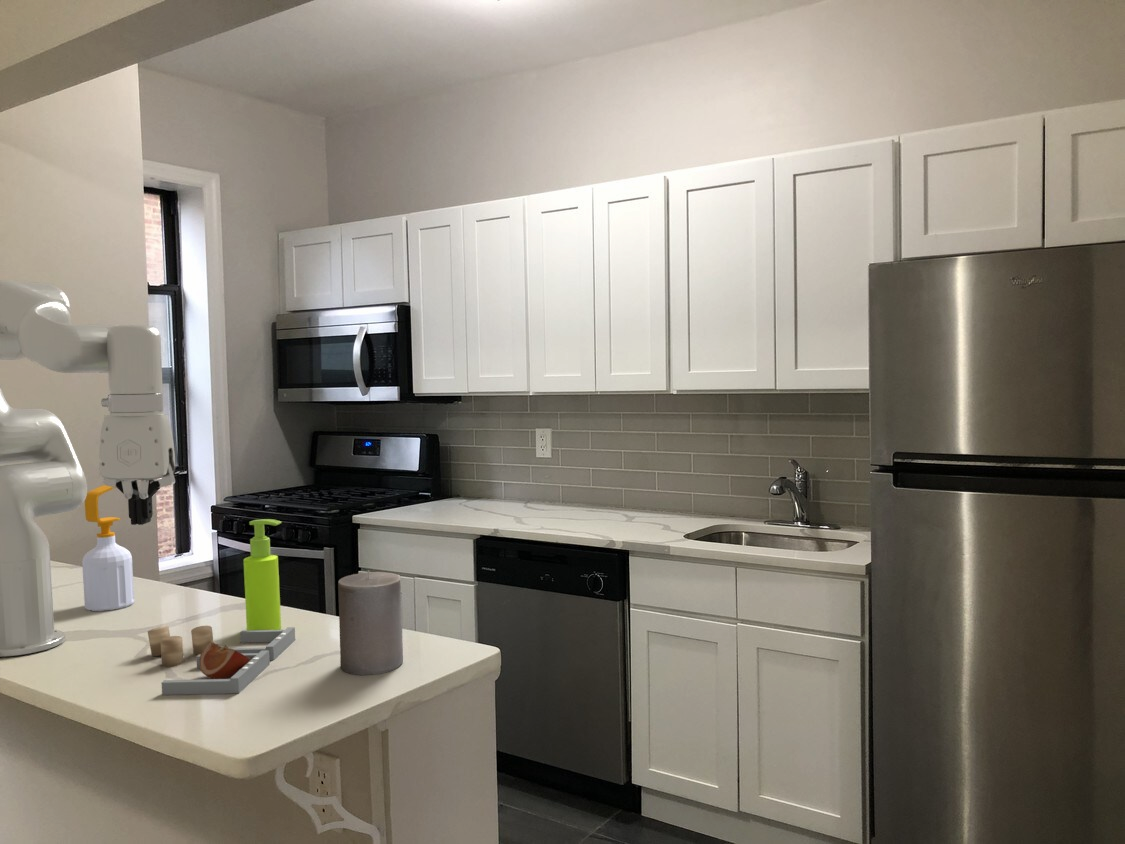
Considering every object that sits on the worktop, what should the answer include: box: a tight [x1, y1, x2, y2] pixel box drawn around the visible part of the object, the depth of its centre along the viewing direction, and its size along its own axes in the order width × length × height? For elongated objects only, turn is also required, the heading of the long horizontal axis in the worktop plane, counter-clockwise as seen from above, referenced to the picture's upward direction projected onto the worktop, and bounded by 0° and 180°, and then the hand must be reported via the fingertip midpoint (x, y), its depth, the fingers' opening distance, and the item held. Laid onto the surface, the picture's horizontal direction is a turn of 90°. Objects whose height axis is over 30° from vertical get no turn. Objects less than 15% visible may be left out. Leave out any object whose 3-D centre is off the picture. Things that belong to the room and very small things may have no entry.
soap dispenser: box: [243, 518, 283, 631], centre depth 163 cm, size 6×7×20 cm
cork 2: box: [160, 635, 184, 668], centre depth 146 cm, size 3×3×4 cm
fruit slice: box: [199, 641, 250, 679], centre depth 138 cm, size 8×7×5 cm
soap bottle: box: [81, 484, 135, 612], centre depth 183 cm, size 9×9×25 cm
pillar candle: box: [337, 569, 404, 676], centre depth 142 cm, size 10×10×15 cm
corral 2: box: [230, 626, 296, 661], centre depth 151 cm, size 9×11×2 cm
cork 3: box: [190, 625, 214, 657], centre depth 150 cm, size 3×3×4 cm
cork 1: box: [147, 625, 171, 657], centre depth 151 cm, size 3×3×4 cm
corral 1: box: [161, 650, 271, 696], centre depth 137 cm, size 11×13×2 cm
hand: (141, 523), depth 141 cm, fingers closed
